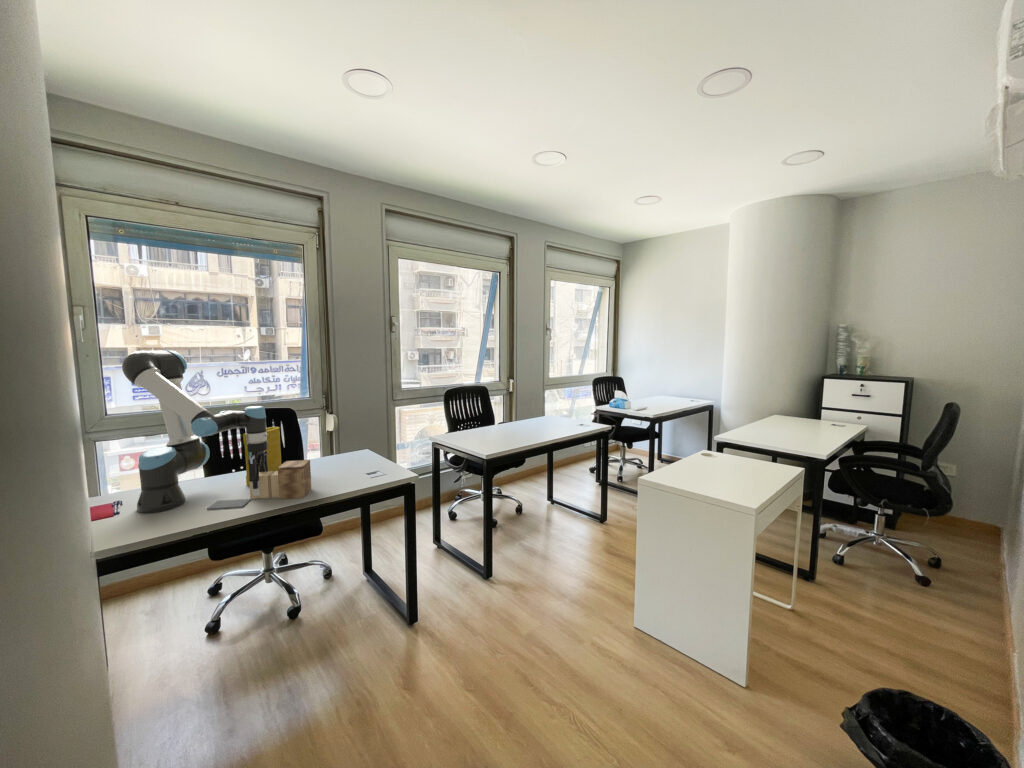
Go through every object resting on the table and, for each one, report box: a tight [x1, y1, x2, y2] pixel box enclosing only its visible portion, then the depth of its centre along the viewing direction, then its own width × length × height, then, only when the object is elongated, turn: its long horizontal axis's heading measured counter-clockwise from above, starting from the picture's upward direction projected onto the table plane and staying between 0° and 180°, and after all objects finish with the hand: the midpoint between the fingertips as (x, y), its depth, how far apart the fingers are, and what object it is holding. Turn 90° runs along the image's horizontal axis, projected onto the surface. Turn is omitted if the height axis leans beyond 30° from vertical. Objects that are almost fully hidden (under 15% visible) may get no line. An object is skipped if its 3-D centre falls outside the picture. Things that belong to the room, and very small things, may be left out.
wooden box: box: [278, 459, 312, 500], centre depth 180 cm, size 10×10×14 cm
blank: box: [249, 471, 279, 500], centre depth 178 cm, size 12×6×10 cm, turn 101°
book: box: [242, 426, 282, 487], centre depth 196 cm, size 17×7×25 cm, turn 168°
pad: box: [206, 498, 252, 511], centre depth 168 cm, size 13×8×1 cm, turn 101°
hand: (260, 492), depth 178 cm, fingers closed on blank, 6 cm apart
